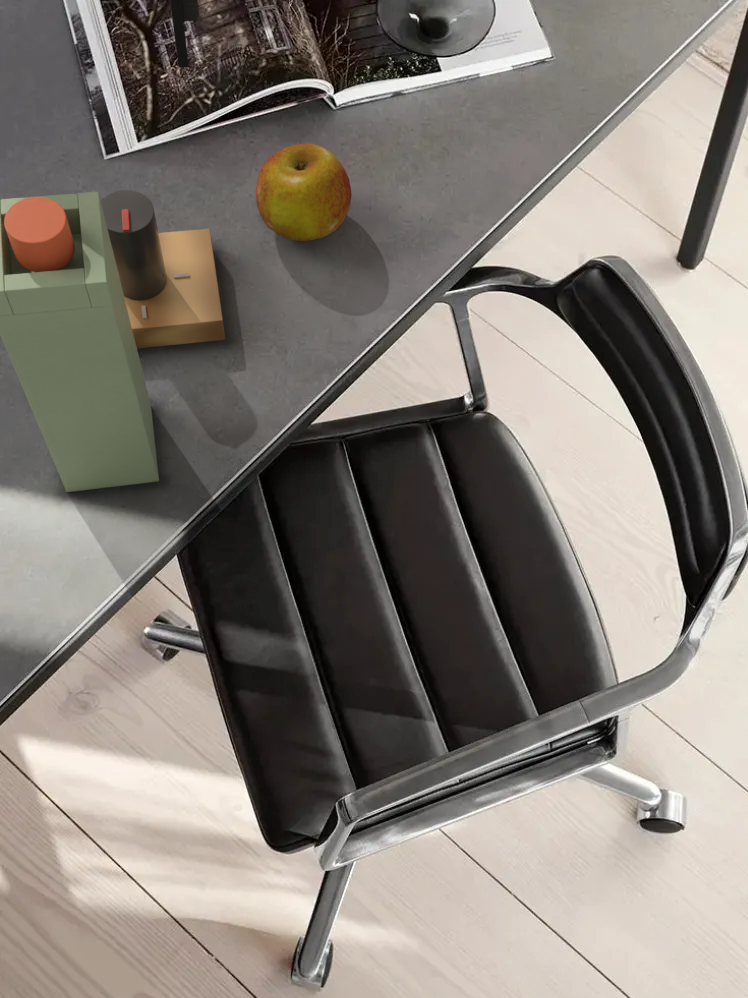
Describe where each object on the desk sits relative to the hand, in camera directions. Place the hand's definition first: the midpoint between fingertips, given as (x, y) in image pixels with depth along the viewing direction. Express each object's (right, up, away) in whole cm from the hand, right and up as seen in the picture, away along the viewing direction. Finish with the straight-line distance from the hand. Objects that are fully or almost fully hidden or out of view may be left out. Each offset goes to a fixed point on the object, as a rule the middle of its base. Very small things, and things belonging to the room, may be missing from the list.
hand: (88, 59), depth 83 cm
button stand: (-4, -26, +18) cm, 32 cm away
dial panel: (-2, -11, +25) cm, 28 cm away
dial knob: (-2, -10, +22) cm, 25 cm away
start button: (-1, -16, -5) cm, 17 cm away
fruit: (+12, -2, +31) cm, 34 cm away
